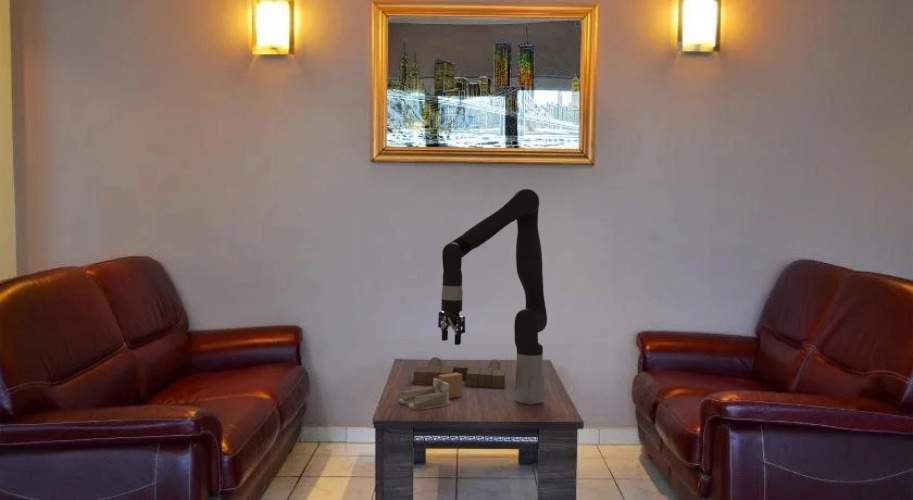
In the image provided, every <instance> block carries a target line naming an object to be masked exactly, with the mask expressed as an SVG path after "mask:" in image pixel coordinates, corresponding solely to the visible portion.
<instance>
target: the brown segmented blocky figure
mask: <svg viewBox="0 0 913 500" xmlns="http://www.w3.org/2000/svg"><path fill="white" fill-rule="evenodd" d="M450 373H460V374H462V380H465V386H466V387H481V388H482V387H485V388H486V387H488V388H499V389H500V388H502V389H503V388H505V384H506V371H505V370H502V369H501V362H500V361H499V360H498V359H491V360H490V361H489V363H488V368H486V367H485V368H484V367H483V368H479V367H475V366H472V365H470V364H469V365H468V364H465V363H458V364H454V365H453V364H452V365H449V366H448V365H447V366H442V360H441V359H440V358H439V357H438V356H434V357H432V358H431V359H430V361H429V363H428V364H427V365H426V366H423V365H422V366H418V367H416V368H415V370H414V371H413V384H414V383H423V384H422V385H433V378H436V379H438V375H442V374H450Z"/></svg>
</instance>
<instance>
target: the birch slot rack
mask: <svg viewBox="0 0 913 500" xmlns="http://www.w3.org/2000/svg"><path fill="white" fill-rule="evenodd" d="M398 402H399V403H400V404H403V406H406V407H408V408H410V409H412V410H413V411H421V410H427V409H434V408H439V407H445V406H451V404H452V401H450V398H449V384H448V383H446V382H443V381H441V380H438V379H436V378H433V384H432V386H429V387H421V388H415V389H410V390H403V391H402V398H399V399H398Z"/></svg>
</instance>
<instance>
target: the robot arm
mask: <svg viewBox="0 0 913 500" xmlns="http://www.w3.org/2000/svg"><path fill="white" fill-rule="evenodd" d="M539 207H540V197H539V196H538V194H537V192H535V190H533V189H531V188H522V189H520V190H518V191H517V192H516V193H515V194H514V196H512V197H511V198H510V199H509V200H508V201H507V202H506V203H505V204H504V205H503V206H502V207H500V208H499V209H497V210H496V211H495V212H493V213H492V214H490V215H489V216H487V217H485V218H483V219H482V220H481V221H479V222H477V223H476V224H475V225H473V226H472V227H470V228H469V229H467V230H466V231H465V232H464V233H463V234H461V235H460V236H458V237H457V238H456V239H453V240H452V241H451V242H449V243H447V244H446V245H445V246H444V247H443V248H442V254H441V255H442V260H441V261H442V269H443V271H442V285H441V286H442V287H441V304H440V305H441V308H440V309H441V311H439V312H438V321H437V323H438V324H437V328H440V330H441V341H442V342H443V341H444V342H445V341H448V340H449V337H448V336H449V328H451V330H453V332H454V345H455V346H459V345H461V343H462V334H465V333H466V316H463V315H460V313H461V312H462V311H463V292H464V291H463V272H462V262H463V261H462V260H463V259H462V258H464V257H465V256H466V255H468V254H469V253H470V252H472V251H473V250H474V249H478V248H479V247H480V246H481V245H484V243H487V242H488V241H489V240H491V239H492V238H493V237H494V236H495V235H497V234H498V233H499V232H501V231H502V230H503V229H504V228H506V227H507V226H509V225H511V223H513V222H514V221H516V224H517V225H516V226H517V227H516V228H517V234H516V243H515V244H516V245H515V246H516V247H515V264H516V265H515V266H516V274H517V277H518V279H519V281H520V283H521V286H522V288H523V292H524V297H525V308H524V309H520V310H519V311H518V312H517V313H516V315H515V318H514V323H513V324H514V327H513V328H514V330H513V332H514V333H513V334H514V344H515V347H516V360H515V361H516V364H515V365H516V367H515V370H516V372H515V401H516V402H517V403H520V404H523V405H529V406H531V405H532V406H533V405H537V404H538V405H539V404H542V403H544V394H545V393H544V390H545V389H544V388H545V377H544V375H543V362H544V361H543V360H544V358H543V357H544V356H543V354H544V347H543V345H542V344H541V343H540V342H539V333H541V332H542V331H544V330H545V329H546V326H547V324H548V314H547V307H546V300H545V293H544V292H545V291H544V274H543V254H542V253H543V252H542V245H541V239H540V234H539V223H538V222H539Z"/></svg>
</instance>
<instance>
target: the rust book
mask: <svg viewBox="0 0 913 500" xmlns="http://www.w3.org/2000/svg"><path fill="white" fill-rule="evenodd" d="M438 380H441V381H443V382H446V383H448V384H449V399H452V398H458V397H462V396H463V379H462V374H460V373H450V374H442V375H438Z"/></svg>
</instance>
